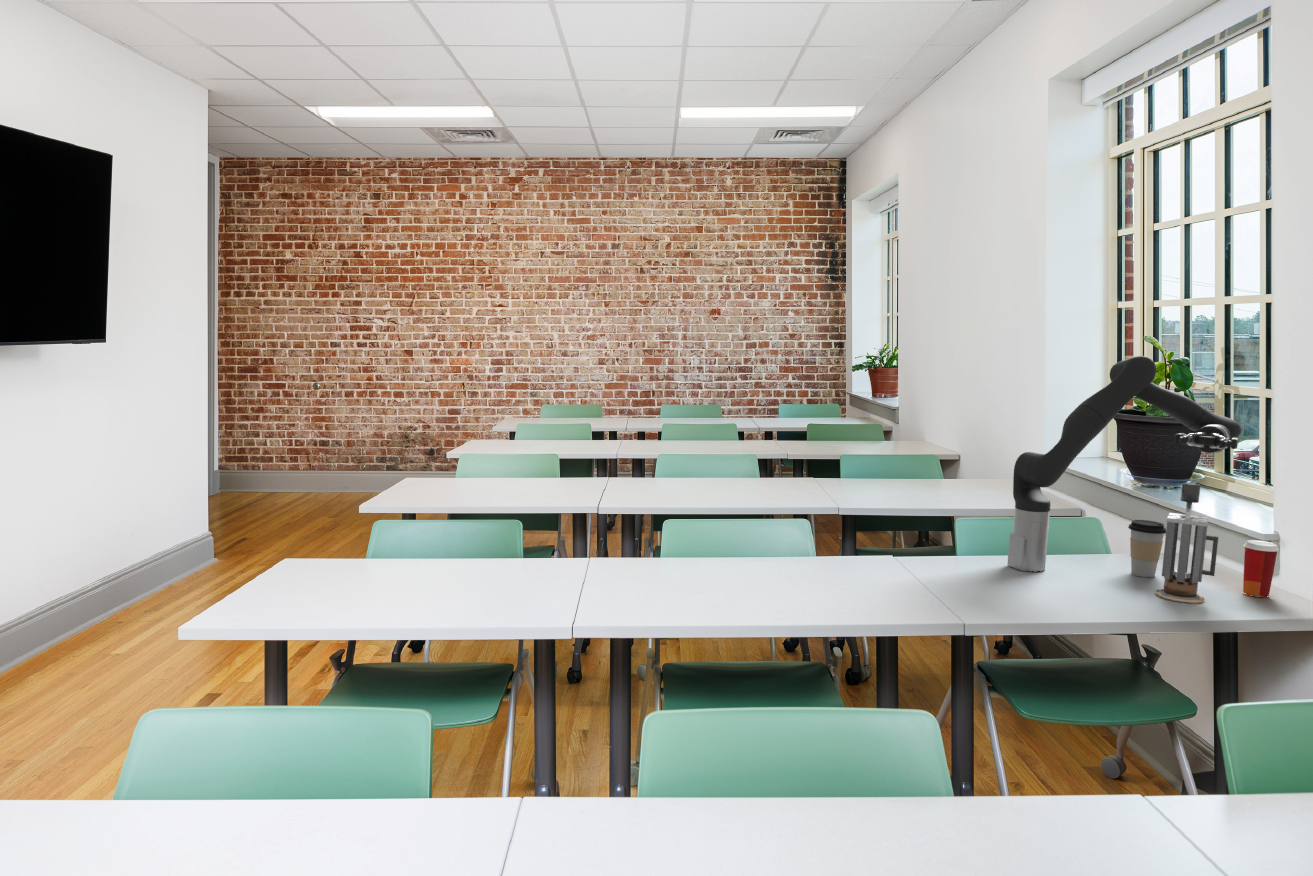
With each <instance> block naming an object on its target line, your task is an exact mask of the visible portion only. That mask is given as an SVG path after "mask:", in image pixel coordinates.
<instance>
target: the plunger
mask: <svg viewBox="0 0 1313 876" xmlns="http://www.w3.org/2000/svg"><path fill="white" fill-rule="evenodd" d="M1181 484H1182V485H1181V493H1180V501H1181V502H1185V503H1186V505H1185V518H1187V519H1191V515H1192V508H1193V503H1194V504H1197V503H1199V502H1200V493H1201V484H1198V483H1195V482H1194V483H1193V482H1182V483H1181ZM1190 574H1191V571H1188V570H1187V571H1186V574H1185V579H1190ZM1172 577H1175V578H1177V569H1174V570H1173V572H1172Z"/></svg>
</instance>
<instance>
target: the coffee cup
mask: <svg viewBox="0 0 1313 876" xmlns="http://www.w3.org/2000/svg"><path fill="white" fill-rule="evenodd" d="M1128 529H1129V530H1130V539H1129V541H1130V548H1129V549H1130V562H1131V564H1130V565H1131V574H1132V575H1133V576H1135V577H1140V576H1141V577H1140V578H1148V577H1151V578H1154V577H1155V576H1156V573H1157V567H1158V564H1159V563H1158V562H1159V560H1160V557H1161V551H1162V548H1163V542H1164V541H1163V539H1164V534H1166V529H1167V528H1165V525H1164V523H1161V522H1158V521H1153V520H1145V519H1133V520H1131V523H1129V524H1128Z"/></svg>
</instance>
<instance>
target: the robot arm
mask: <svg viewBox="0 0 1313 876" xmlns="http://www.w3.org/2000/svg"><path fill="white" fill-rule="evenodd" d="M1156 375H1157V366H1156V363H1155V362H1154V360H1153V359H1152V358H1150V357H1148V356H1146V355H1135V356H1132V357H1131V356H1130V357H1128V358H1125V359H1122V360H1120V361H1118V362H1116V363H1115V364H1113V365H1112V367H1111V368H1110V370H1109V378H1110V382H1109V384H1107V385H1106V386H1104V387H1102V388H1101V389H1100V390H1098V391H1096V392H1095V393H1094V394H1092V395H1091V396H1089V397H1088V398H1086V399H1085V400H1083V401H1082V402H1081V403H1080V404H1078V406H1077V407H1075V408H1074V410H1072V412H1071V413H1069V415H1068V416H1067V418H1066V419H1065V420H1064V422H1063V426H1062V431H1061V436H1060V439H1059V440H1058V442H1057V443H1056V444H1055V445H1054V446H1053V447H1052V448H1051V449H1050V450H1049V451H1048V452H1046V453H1045V454H1043V453H1039V452H1033V451H1032V452H1031V451H1026V452H1023V453H1021V454H1019V456H1018V457H1017V459H1016V461H1015V463H1014V467H1013V477H1012V478H1013V479H1012V481H1013V483H1012V487H1013V488H1012V495H1013V500H1014V504H1015V505H1014V516H1013V517H1014V518H1013V525H1012V526H1013V528H1012V532H1010V534H1009V540H1008V550H1007V551H1008V553H1007V566H1008V567H1011V568H1013V569H1015V570H1018V571H1020V572H1032V571H1033V572H1034V573H1035V572H1036V573H1038V572H1037V571H1040V572H1044V571H1045V570H1046V560H1047V550H1048V539H1049V538H1048V537H1049V525H1050V516H1051V515H1050V513H1051V501H1050V500H1049V499H1048V498H1047V497H1046V496H1045V495H1044V493H1043V492H1042V490H1041V489H1042V488H1048V487H1051V486H1053V485H1054V484H1055V483H1057V481H1058V480H1059V479H1060V477H1062V475H1063V474H1064V473H1065V472H1066V471H1067V469H1068V468H1069V466H1070V465H1071V464H1072V462H1073V461H1074V460H1075V459H1076V458H1077V456H1079V455H1080V453H1082V451H1083V450H1084V449H1085V448H1086V447H1087V446H1088V445H1089V443H1090V442H1091V441H1093V440H1094V439H1095V438H1096V437H1097V436H1098V435H1099V434H1100V433H1101V432H1102V431H1103V430H1104V429H1105V428H1106V427H1107V425H1109V423H1110V422H1111V421H1112V420H1113V419H1114V418H1115V417H1116V416H1117V415H1118V414H1119V412H1121V410H1122V409H1123V408H1124V407H1125V406H1126V405H1127V404H1128V403H1129V402H1130V401H1131V400H1132V399H1133V398H1137V399H1139V400H1141V401H1143V402H1145V403H1147V404H1149V405H1150V406H1152V407H1155V408H1156V409H1158V410H1160V411H1161V412H1164V413H1165V414H1167V415H1169V416H1170V417H1171V418H1173V419H1174V420H1176V421H1177V422H1178V423H1180V424H1181V425H1183V426H1185V428H1188V430H1190V431H1194V432H1190V433H1188V434H1186V433H1184V432H1178V433H1175V434H1174V442H1173V443H1175V444H1177V445H1178V444H1181V445H1183V446H1185V445H1188V446H1190V447H1196V448H1197V450H1199V451H1200V452H1202V453H1206V454H1214V453H1220V452H1222V451H1223V450H1224V449H1228V448H1229V447H1230V449H1232V450H1235V449H1237V448H1238V445H1239V444H1238V443H1239V438H1238V437H1239V436H1240V435H1241V433H1242V427H1241V425H1240V424H1239V422H1237V421H1236V420H1234V419H1232V418H1230V417H1227V416H1224V415H1220V414H1217V413H1215V412H1212V411H1211V410H1208V409H1207V408H1205V407H1203V406H1202V405H1200V404H1199V403H1197V402H1196V401H1195V400H1193V399H1191V398H1190V397H1188V396H1186V395H1183V394H1181V393H1179V392H1176V391H1172V390H1170V389H1168V388H1167V389H1166V388H1164V387H1161V386H1160V385H1158V384H1156V383H1154V379H1155V378H1156Z"/></svg>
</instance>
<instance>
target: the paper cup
mask: <svg viewBox="0 0 1313 876" xmlns="http://www.w3.org/2000/svg"><path fill="white" fill-rule="evenodd" d="M1242 547H1244V557H1243V558H1244V559H1243V561H1244V562H1243V578H1242V579H1243V580H1242V581H1243V582H1242V587H1243V588H1242V593H1243V592H1244V593H1246V594H1247V595H1246V594H1245V595H1246V596H1248V595H1252V596H1257V597H1256V598H1258V596H1259V597H1267V596H1268V597H1269V596H1270V591H1271V587H1272V581H1273V577H1274V572H1275V566H1276V560H1277V555H1278V552H1279V551H1280V549H1279V548H1278V545H1277V544H1276V543H1274V542H1271V541H1270V542H1269V541H1266V540H1257V539H1248V540H1246V542H1244V543H1243V546H1242ZM1244 593H1243V594H1244ZM1252 596H1251V597H1252ZM1268 597H1267V598H1268Z"/></svg>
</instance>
